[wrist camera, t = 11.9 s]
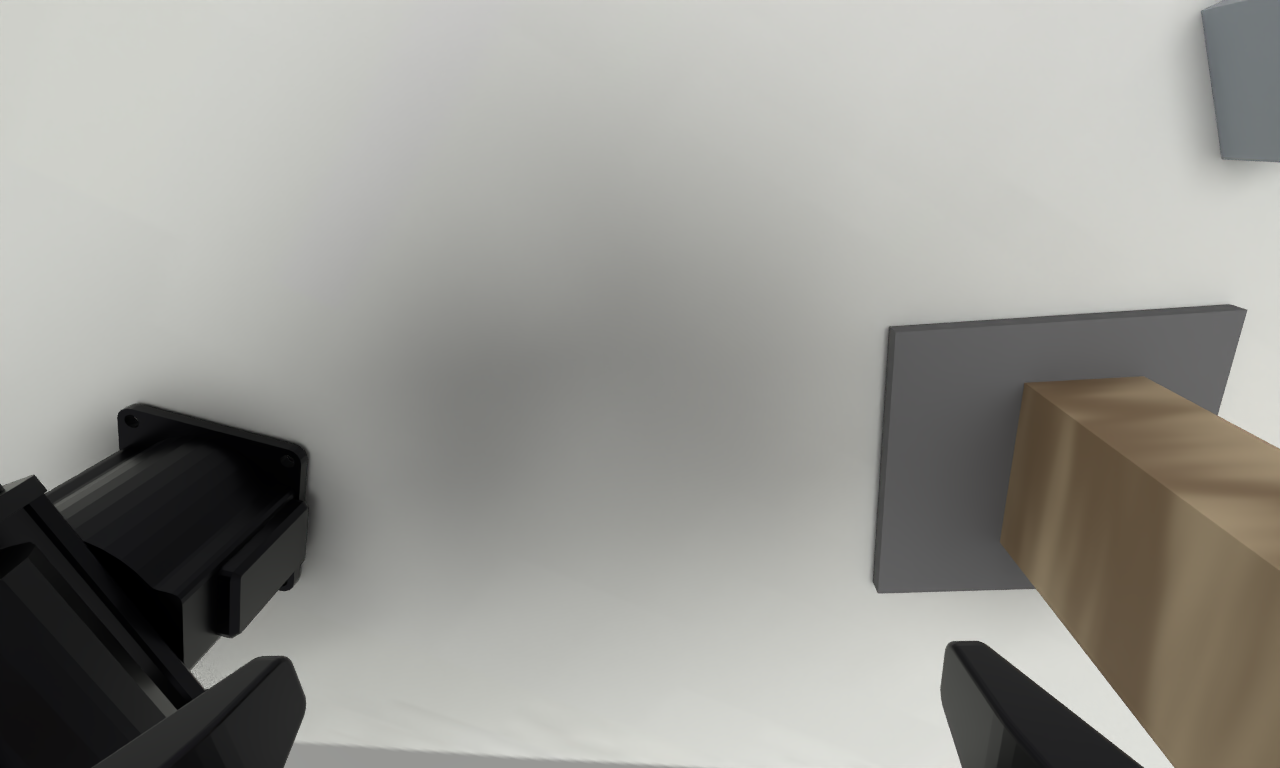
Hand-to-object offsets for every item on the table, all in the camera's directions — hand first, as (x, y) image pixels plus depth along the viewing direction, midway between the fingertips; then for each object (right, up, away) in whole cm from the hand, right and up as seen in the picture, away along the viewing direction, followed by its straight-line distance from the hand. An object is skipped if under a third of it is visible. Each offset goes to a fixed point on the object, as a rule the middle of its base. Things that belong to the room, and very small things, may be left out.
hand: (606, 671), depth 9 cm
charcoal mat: (+14, +1, +13) cm, 19 cm away
